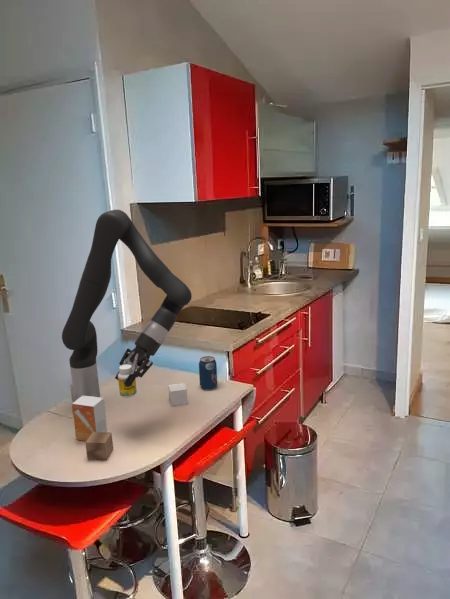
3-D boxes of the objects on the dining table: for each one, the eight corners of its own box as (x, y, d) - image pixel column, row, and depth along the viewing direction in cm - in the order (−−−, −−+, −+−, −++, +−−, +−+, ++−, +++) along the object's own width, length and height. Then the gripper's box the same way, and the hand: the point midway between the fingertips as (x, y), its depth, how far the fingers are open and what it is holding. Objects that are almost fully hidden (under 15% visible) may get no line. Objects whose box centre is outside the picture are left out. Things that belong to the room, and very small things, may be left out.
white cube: (187, 404, 177) (186, 389, 175) (171, 406, 176) (170, 391, 174) (184, 397, 183) (184, 382, 181) (169, 399, 181) (168, 384, 180)
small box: (75, 440, 155) (71, 403, 152) (86, 430, 161) (82, 394, 158) (97, 443, 153) (93, 406, 149) (108, 433, 159) (104, 397, 155)
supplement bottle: (132, 389, 157) (130, 362, 155) (139, 395, 153) (137, 367, 150) (117, 394, 154) (114, 366, 152) (123, 399, 150) (120, 371, 148)
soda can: (217, 390, 187) (215, 361, 184) (199, 391, 187) (197, 362, 184) (217, 383, 194) (216, 355, 191) (200, 383, 194) (199, 355, 191)
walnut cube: (87, 460, 144) (85, 442, 142) (94, 449, 150) (92, 432, 148) (106, 460, 143) (104, 443, 142) (113, 449, 149) (111, 432, 147)
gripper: (133, 327, 159) (103, 370, 154) (155, 337, 148) (124, 384, 144) (148, 338, 163) (119, 381, 159) (171, 349, 152) (141, 395, 148)
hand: (121, 382), depth 151 cm, fingers closed on supplement bottle, 5 cm apart
